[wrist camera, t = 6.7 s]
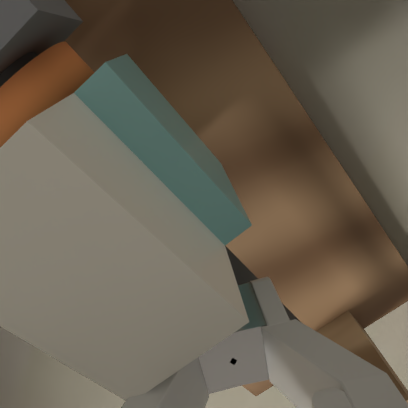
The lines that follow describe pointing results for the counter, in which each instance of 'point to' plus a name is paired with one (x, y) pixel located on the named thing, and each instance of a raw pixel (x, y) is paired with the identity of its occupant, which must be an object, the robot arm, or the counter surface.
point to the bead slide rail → (47, 72)
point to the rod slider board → (261, 162)
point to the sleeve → (117, 235)
